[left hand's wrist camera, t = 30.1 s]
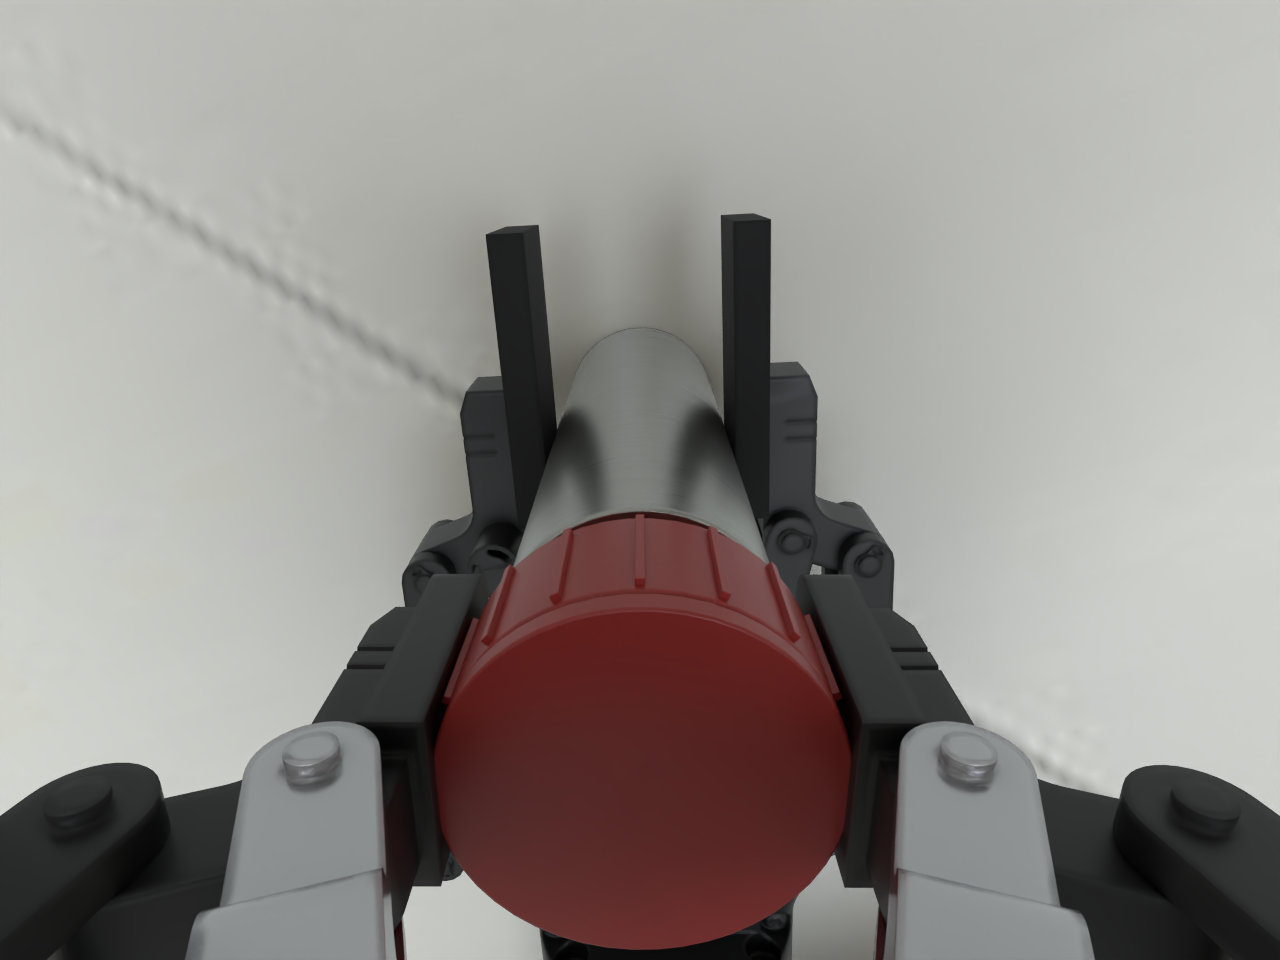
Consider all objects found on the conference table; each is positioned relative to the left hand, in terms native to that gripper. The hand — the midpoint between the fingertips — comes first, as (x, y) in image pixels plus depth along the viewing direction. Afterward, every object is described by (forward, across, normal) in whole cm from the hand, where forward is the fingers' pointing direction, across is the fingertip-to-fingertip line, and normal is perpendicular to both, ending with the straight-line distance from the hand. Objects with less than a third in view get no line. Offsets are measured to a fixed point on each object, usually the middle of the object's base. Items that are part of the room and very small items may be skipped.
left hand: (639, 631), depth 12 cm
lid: (-3, 0, 0) cm, 3 cm away
